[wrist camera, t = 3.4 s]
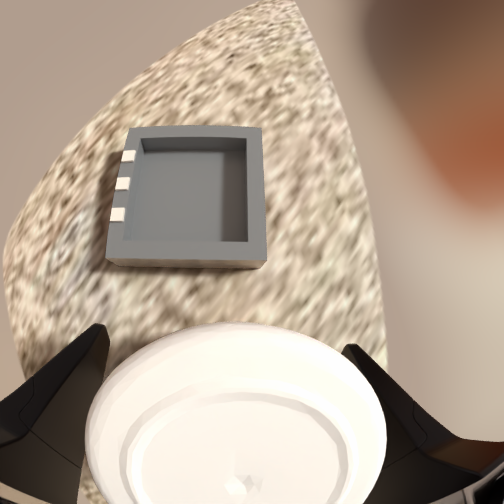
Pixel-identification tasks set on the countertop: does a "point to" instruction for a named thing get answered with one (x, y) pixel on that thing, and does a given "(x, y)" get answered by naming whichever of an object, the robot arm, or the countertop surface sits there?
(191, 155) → the dish
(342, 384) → the sprinkles bottle
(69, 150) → the countertop surface
